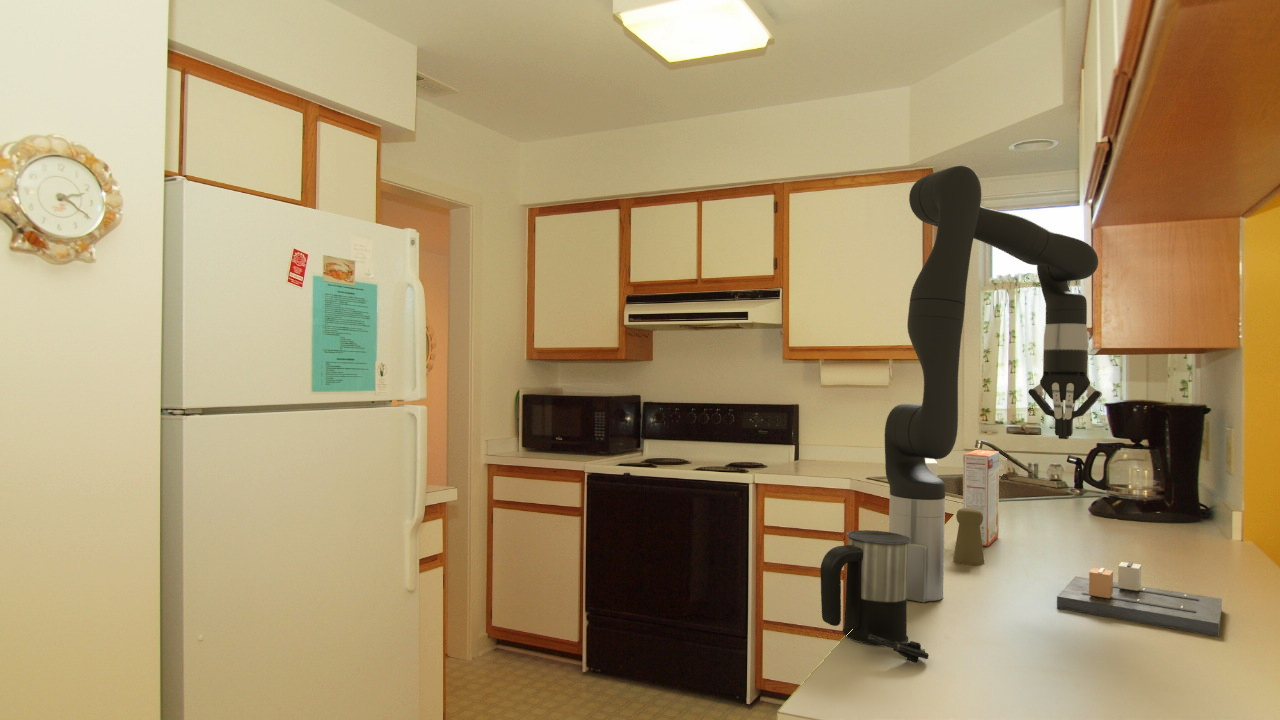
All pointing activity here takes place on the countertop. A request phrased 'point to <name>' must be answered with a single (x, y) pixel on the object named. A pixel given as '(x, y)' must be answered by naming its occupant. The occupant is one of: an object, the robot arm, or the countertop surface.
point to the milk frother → (870, 590)
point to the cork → (969, 537)
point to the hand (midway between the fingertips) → (1063, 438)
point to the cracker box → (983, 490)
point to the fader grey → (1129, 576)
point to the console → (1146, 606)
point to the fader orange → (1101, 582)
